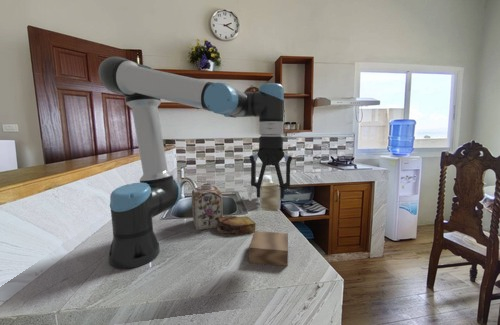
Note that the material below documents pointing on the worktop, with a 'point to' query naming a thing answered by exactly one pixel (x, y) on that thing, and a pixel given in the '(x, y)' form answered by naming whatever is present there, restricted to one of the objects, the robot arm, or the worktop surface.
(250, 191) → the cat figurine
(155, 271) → the worktop surface
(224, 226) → the stone
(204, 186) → the decorative jar
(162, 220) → the worktop surface
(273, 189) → the oak block
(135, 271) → the worktop surface
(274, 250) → the plinth
